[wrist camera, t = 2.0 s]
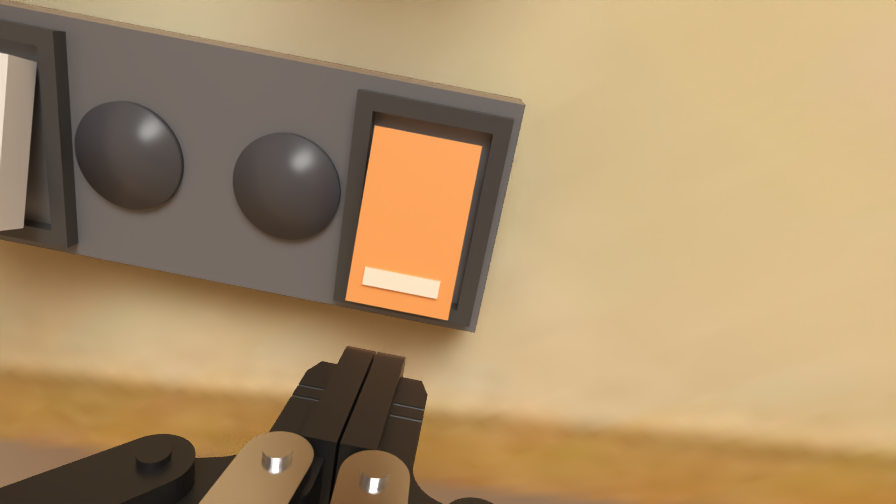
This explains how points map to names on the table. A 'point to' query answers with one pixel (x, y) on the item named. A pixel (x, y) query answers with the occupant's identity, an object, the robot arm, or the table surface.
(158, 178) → the rocker switch panel
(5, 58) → the rocker white
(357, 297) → the rocker orange
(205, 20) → the table surface
